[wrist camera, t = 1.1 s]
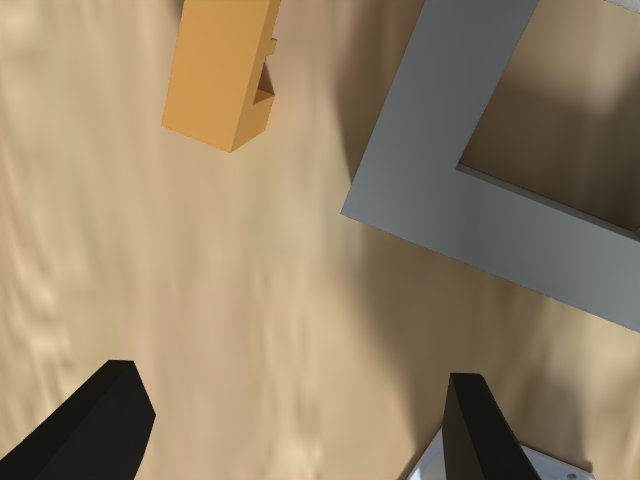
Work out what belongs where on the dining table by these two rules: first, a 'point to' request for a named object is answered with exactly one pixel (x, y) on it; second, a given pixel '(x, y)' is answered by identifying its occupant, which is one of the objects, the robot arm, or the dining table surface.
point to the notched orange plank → (221, 71)
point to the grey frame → (474, 186)
